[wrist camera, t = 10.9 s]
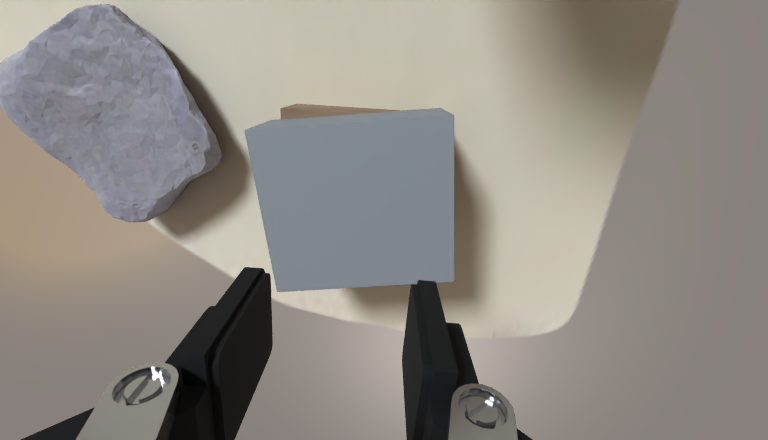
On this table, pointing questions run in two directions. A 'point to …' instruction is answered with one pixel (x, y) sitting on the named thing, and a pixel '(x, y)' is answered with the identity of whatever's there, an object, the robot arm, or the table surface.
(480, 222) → the table surface
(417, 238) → the tower top
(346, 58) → the table surface
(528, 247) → the table surface
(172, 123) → the stone block
